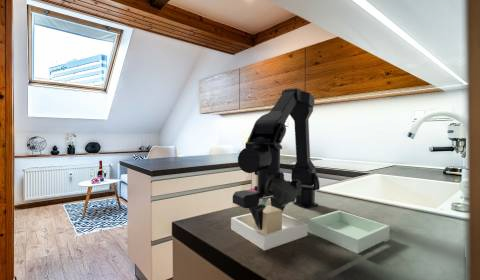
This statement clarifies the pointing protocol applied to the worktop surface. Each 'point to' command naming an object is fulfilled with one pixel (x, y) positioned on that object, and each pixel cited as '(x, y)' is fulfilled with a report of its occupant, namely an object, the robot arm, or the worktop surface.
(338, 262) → the worktop surface
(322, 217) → the bin
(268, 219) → the beige plain cubic block
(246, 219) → the bin
